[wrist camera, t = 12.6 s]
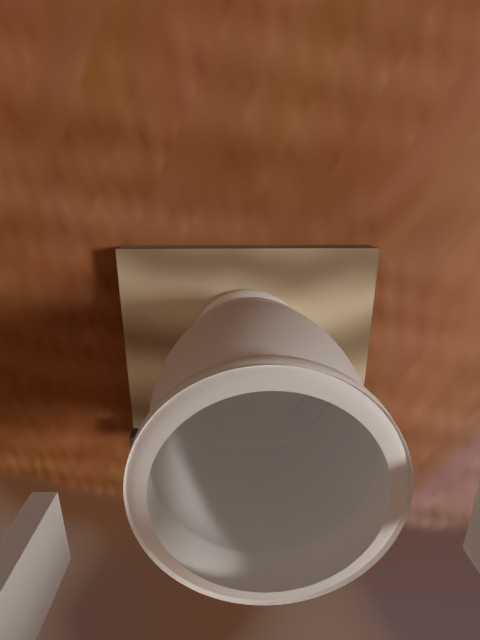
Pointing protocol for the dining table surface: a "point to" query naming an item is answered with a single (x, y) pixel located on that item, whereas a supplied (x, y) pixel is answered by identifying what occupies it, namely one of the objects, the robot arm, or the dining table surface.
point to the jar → (264, 460)
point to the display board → (234, 275)
